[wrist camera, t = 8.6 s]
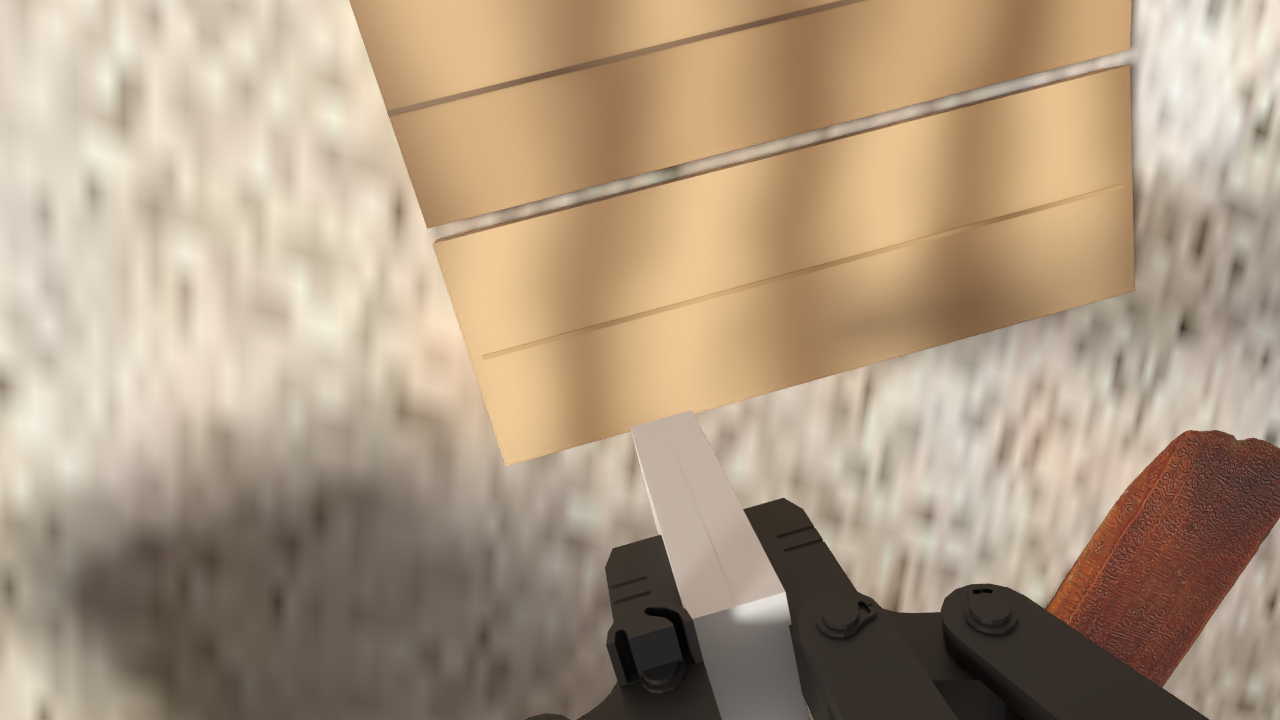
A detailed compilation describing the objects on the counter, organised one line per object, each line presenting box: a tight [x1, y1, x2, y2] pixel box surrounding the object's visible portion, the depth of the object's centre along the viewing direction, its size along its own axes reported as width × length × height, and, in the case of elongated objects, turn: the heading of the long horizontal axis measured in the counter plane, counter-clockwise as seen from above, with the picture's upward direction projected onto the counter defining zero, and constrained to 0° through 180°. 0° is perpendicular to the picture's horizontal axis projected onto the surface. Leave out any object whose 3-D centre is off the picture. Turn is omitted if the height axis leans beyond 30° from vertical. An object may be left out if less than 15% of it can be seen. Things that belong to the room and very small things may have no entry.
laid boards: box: [349, 0, 1132, 229], centre depth 22 cm, size 24×7×1 cm, turn 103°
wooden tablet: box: [1046, 430, 1280, 688], centre depth 35 cm, size 27×10×2 cm, turn 156°
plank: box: [433, 65, 1135, 466], centre depth 25 cm, size 24×8×1 cm, turn 103°
